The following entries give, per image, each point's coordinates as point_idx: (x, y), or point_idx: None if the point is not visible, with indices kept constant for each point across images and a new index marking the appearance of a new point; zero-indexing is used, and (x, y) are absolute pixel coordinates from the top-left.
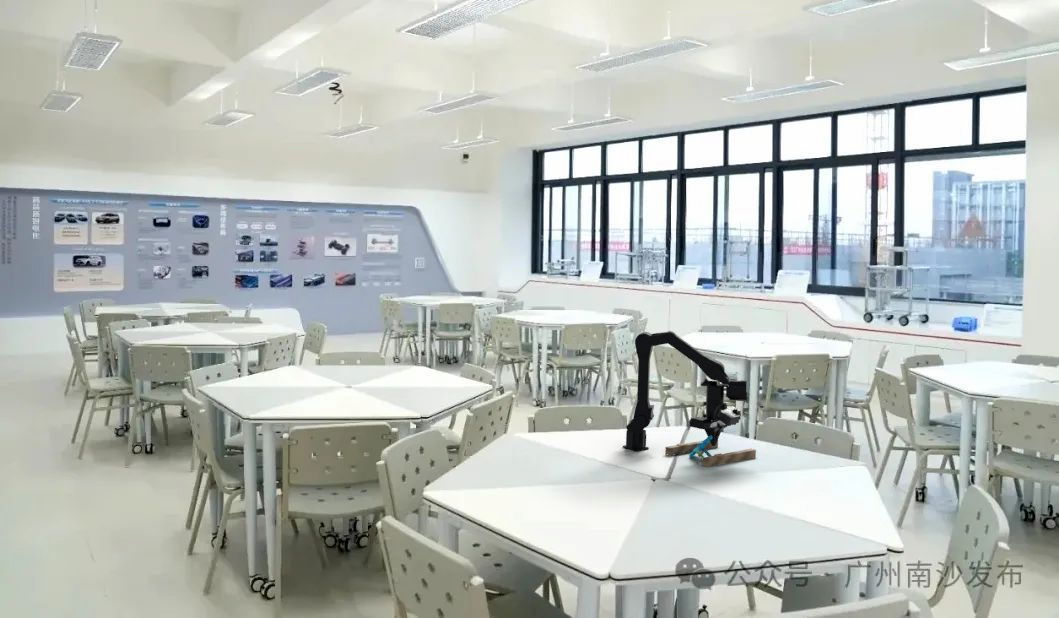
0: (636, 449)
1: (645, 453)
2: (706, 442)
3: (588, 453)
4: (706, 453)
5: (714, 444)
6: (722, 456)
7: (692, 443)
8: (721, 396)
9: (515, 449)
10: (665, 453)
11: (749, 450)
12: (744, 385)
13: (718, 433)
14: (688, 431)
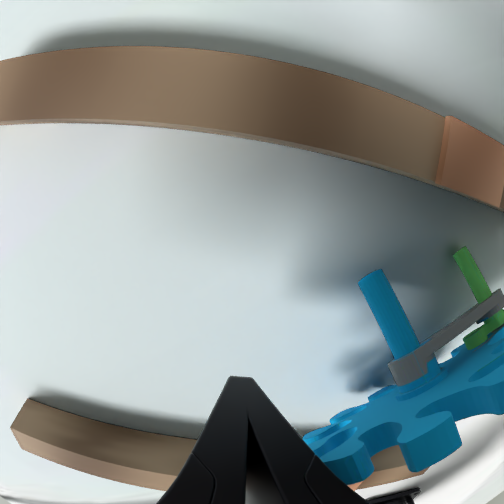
0: (415, 492)
1: (428, 468)
2: None
3: (479, 478)
4: (406, 321)
5: (257, 388)
6: (474, 132)
7: None
8: None
9: (484, 499)
10: None
11: (10, 73)
12: None
13: (225, 497)
14: (22, 498)
